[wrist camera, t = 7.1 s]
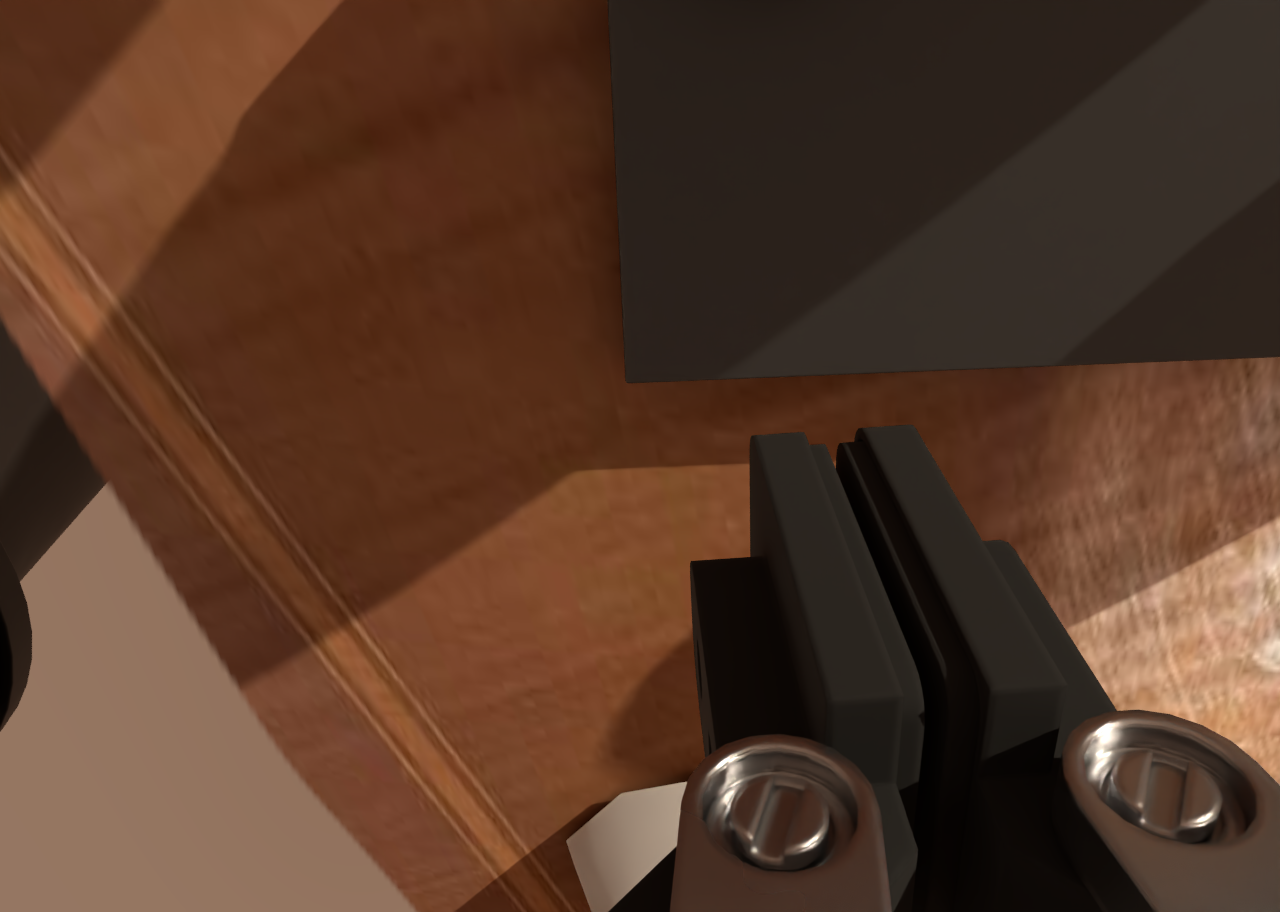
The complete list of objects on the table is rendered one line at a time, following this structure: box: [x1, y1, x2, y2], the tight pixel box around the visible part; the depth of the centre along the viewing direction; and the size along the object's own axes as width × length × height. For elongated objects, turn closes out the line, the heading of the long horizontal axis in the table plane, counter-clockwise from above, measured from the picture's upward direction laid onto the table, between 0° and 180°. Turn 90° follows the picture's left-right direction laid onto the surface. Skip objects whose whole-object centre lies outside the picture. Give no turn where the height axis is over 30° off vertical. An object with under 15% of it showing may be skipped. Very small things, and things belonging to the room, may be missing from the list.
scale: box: [607, 0, 1280, 383], centre depth 20 cm, size 16×15×3 cm
